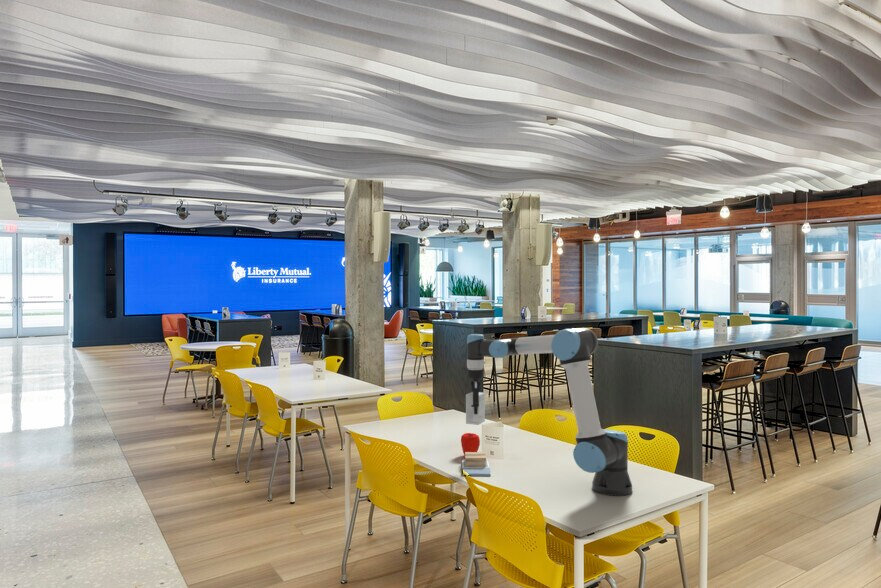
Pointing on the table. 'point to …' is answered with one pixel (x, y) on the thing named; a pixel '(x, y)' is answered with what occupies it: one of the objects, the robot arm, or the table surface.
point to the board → (477, 470)
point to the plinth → (475, 459)
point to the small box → (470, 409)
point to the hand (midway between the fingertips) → (475, 418)
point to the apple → (470, 442)
